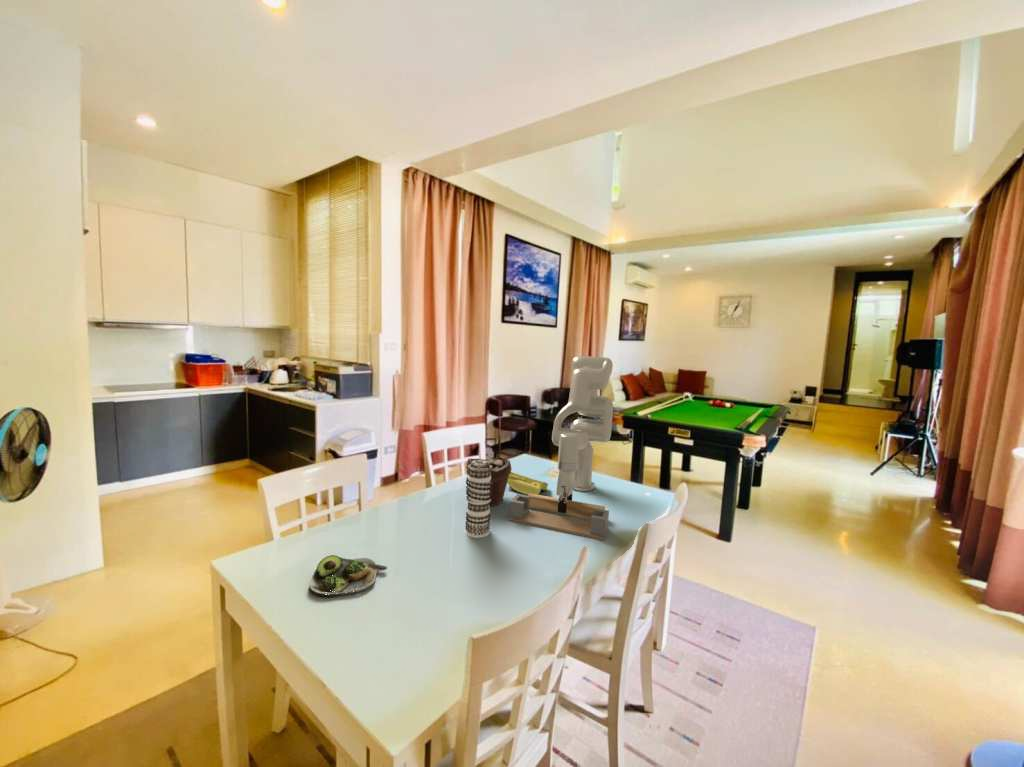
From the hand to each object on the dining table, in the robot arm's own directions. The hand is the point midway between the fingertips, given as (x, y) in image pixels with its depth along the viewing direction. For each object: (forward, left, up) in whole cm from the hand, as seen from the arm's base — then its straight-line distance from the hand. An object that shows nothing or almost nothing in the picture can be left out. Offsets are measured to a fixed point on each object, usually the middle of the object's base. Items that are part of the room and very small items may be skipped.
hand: (564, 507), depth 163 cm
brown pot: (+2, -32, -2) cm, 32 cm away
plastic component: (-17, -22, -3) cm, 28 cm away
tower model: (+29, -24, -2) cm, 37 cm away
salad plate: (+69, -46, -3) cm, 83 cm away
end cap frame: (+11, 0, -2) cm, 11 cm away
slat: (0, 0, -2) cm, 2 cm away
